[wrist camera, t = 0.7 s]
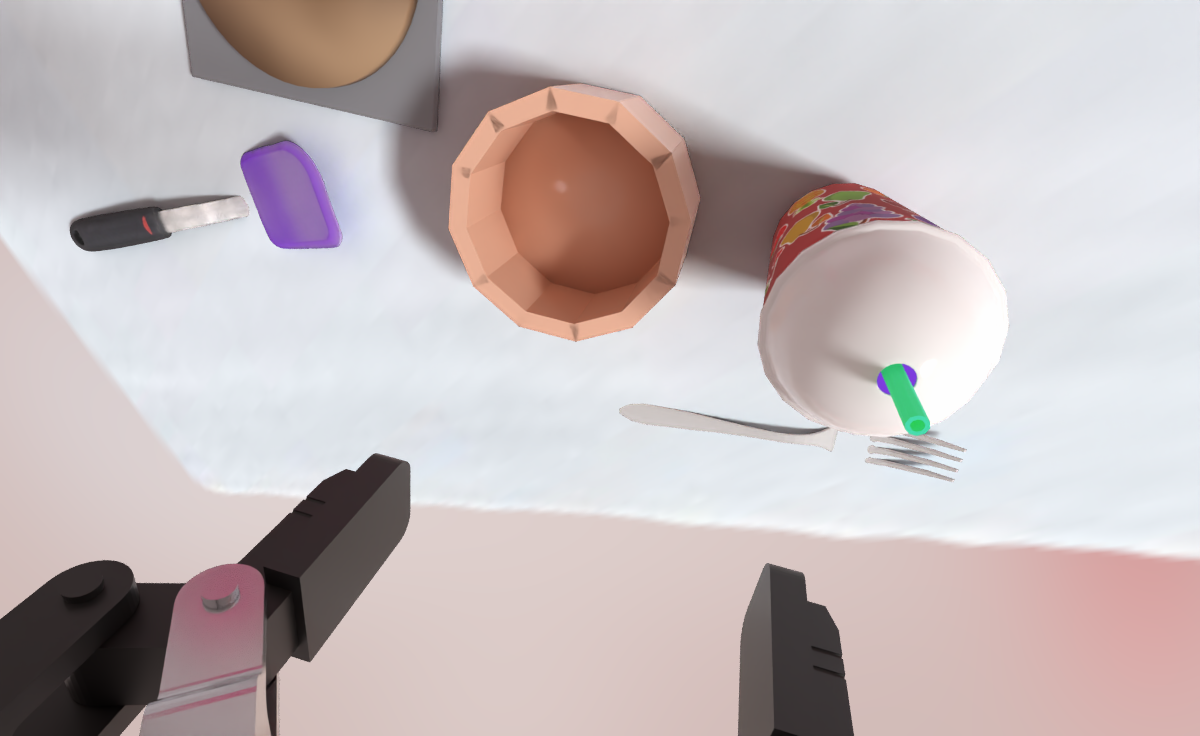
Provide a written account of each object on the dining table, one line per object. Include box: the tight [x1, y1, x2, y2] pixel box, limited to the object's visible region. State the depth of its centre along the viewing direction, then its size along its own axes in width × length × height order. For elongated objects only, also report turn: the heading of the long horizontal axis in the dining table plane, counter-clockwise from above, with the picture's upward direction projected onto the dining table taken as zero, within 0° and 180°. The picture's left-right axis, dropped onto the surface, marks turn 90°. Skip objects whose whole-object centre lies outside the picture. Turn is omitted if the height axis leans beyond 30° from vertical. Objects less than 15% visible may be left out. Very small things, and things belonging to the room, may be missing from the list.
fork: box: [619, 404, 967, 482], centre depth 40 cm, size 3×24×2 cm, turn 89°
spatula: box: [70, 141, 342, 251], centre depth 42 cm, size 24×7×2 cm, turn 101°
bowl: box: [448, 83, 701, 342], centre depth 34 cm, size 12×12×6 cm
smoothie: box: [758, 183, 1009, 437], centre depth 25 cm, size 8×8×20 cm
